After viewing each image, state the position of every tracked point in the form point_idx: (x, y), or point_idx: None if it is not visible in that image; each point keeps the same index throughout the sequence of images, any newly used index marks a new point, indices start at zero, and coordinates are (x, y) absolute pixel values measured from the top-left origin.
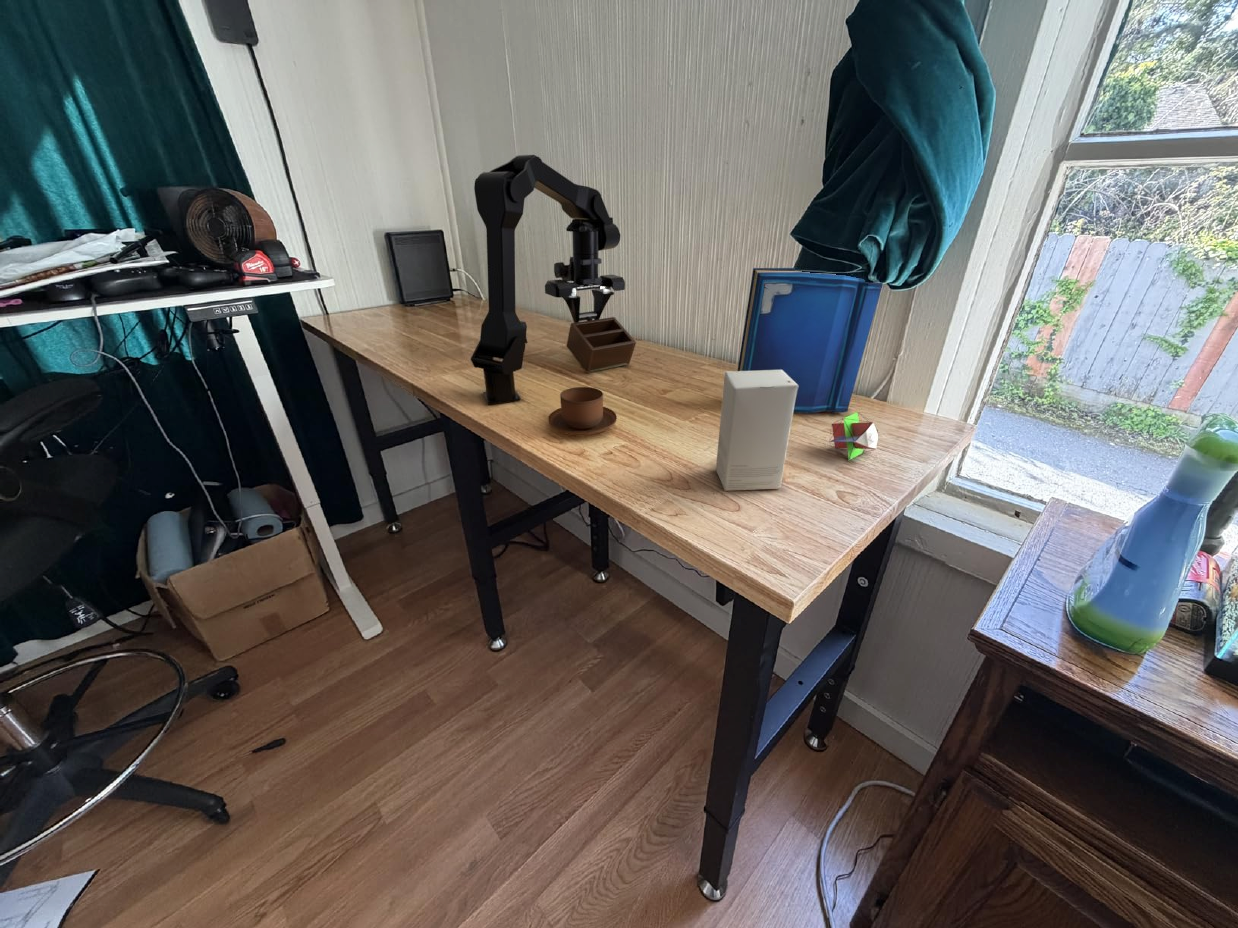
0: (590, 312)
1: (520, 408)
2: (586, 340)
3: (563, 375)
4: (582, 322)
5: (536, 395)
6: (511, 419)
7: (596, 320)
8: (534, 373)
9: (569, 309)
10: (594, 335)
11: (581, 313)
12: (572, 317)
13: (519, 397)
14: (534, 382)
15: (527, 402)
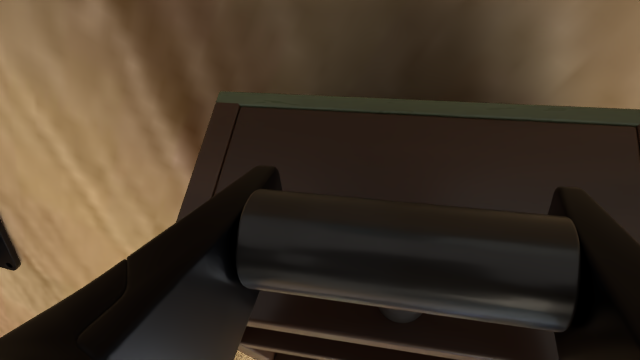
0: (455, 315)
1: (26, 293)
2: (246, 351)
3: (192, 168)
4: (265, 325)
5: (68, 258)
6: (10, 320)
7: (428, 354)
8: (64, 67)
9: (115, 275)
10: (317, 358)
11: (304, 294)
12: (205, 208)
13: (13, 265)
14: (63, 166)
15: (42, 278)
